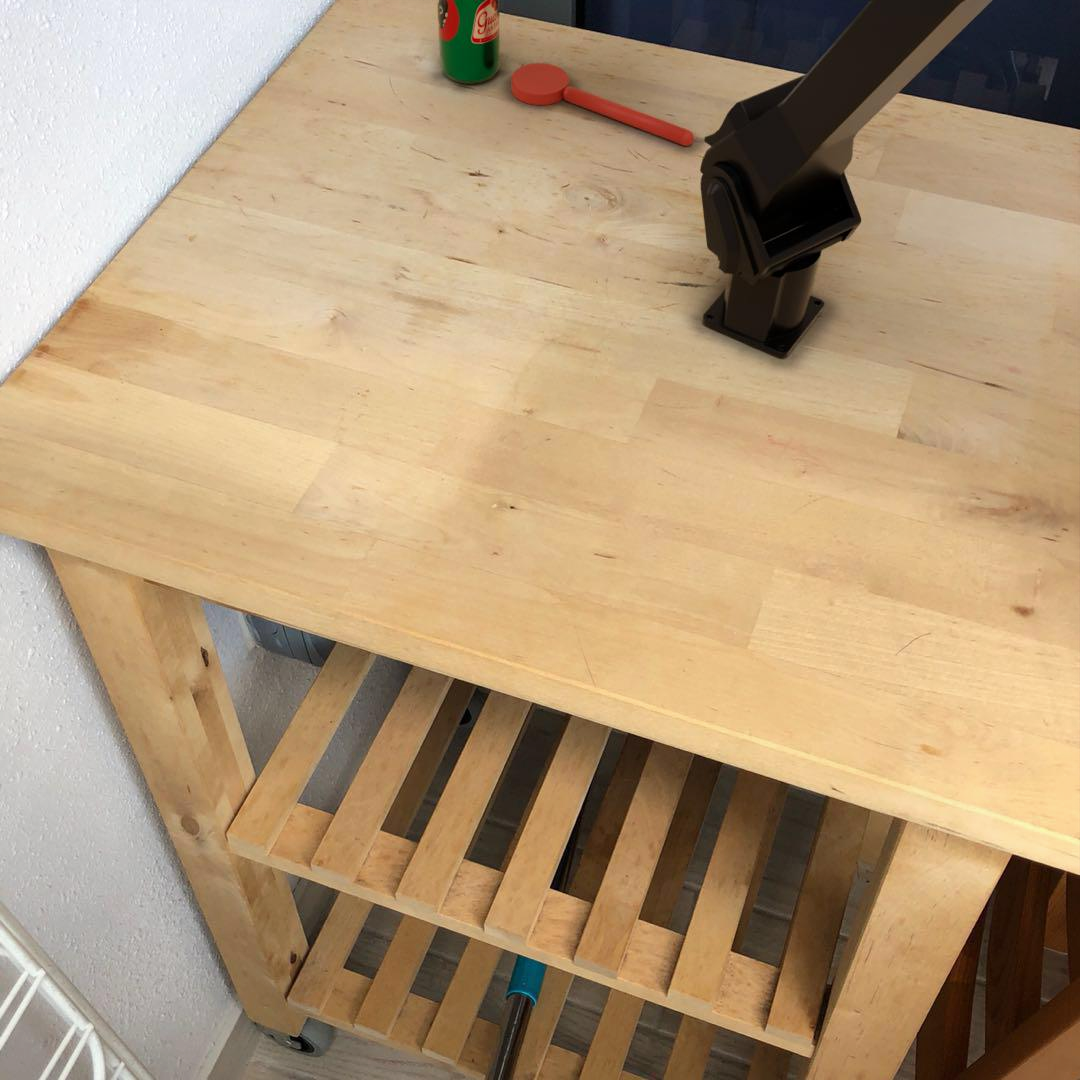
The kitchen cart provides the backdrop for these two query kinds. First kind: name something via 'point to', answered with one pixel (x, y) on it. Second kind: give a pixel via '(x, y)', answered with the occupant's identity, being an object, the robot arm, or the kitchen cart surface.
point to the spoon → (585, 100)
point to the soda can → (469, 39)
